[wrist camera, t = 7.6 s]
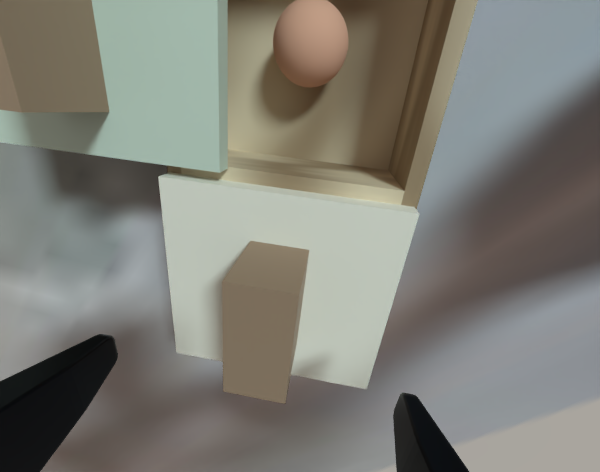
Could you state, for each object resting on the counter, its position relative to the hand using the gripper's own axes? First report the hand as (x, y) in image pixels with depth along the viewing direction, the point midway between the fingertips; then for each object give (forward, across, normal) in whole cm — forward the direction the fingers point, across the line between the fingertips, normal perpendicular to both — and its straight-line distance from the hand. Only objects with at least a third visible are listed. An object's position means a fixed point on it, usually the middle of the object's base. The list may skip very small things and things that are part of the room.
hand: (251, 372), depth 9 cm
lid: (+5, 0, 0) cm, 5 cm away
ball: (+7, 0, -10) cm, 12 cm away
